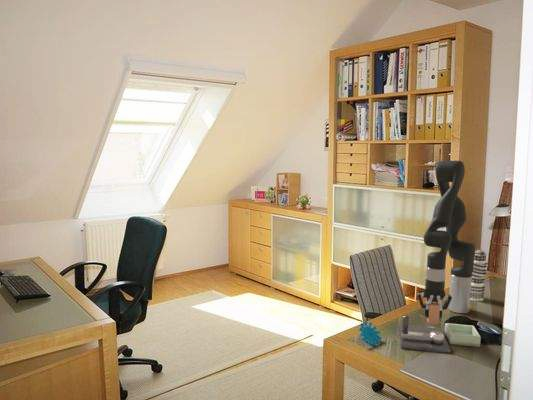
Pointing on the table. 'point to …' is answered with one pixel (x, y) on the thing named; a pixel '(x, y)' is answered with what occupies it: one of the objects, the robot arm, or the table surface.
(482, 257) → the decorative candle
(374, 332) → the gear
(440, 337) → the crank
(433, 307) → the block
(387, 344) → the table surface
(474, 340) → the tray
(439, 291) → the robot arm
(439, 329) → the base plate
